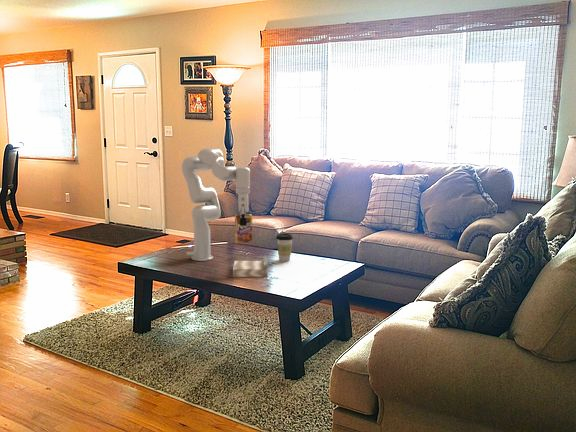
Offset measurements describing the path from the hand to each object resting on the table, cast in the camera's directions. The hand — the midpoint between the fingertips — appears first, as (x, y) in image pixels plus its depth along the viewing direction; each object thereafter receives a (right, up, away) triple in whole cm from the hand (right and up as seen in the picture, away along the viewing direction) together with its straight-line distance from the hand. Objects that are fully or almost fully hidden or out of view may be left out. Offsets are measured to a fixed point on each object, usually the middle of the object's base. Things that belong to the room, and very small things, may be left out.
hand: (243, 224), depth 306 cm
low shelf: (+4, -26, +2) cm, 26 cm away
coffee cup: (+22, -22, +28) cm, 42 cm away
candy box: (0, -10, +2) cm, 10 cm away
